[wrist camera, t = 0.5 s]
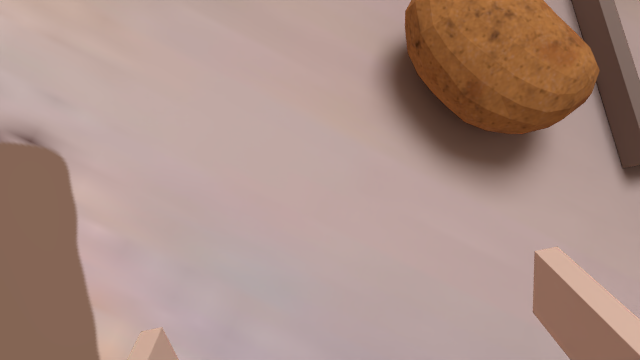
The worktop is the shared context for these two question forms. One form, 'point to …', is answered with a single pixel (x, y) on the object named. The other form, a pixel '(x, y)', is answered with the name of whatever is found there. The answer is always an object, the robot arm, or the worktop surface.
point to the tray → (613, 74)
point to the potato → (500, 61)
